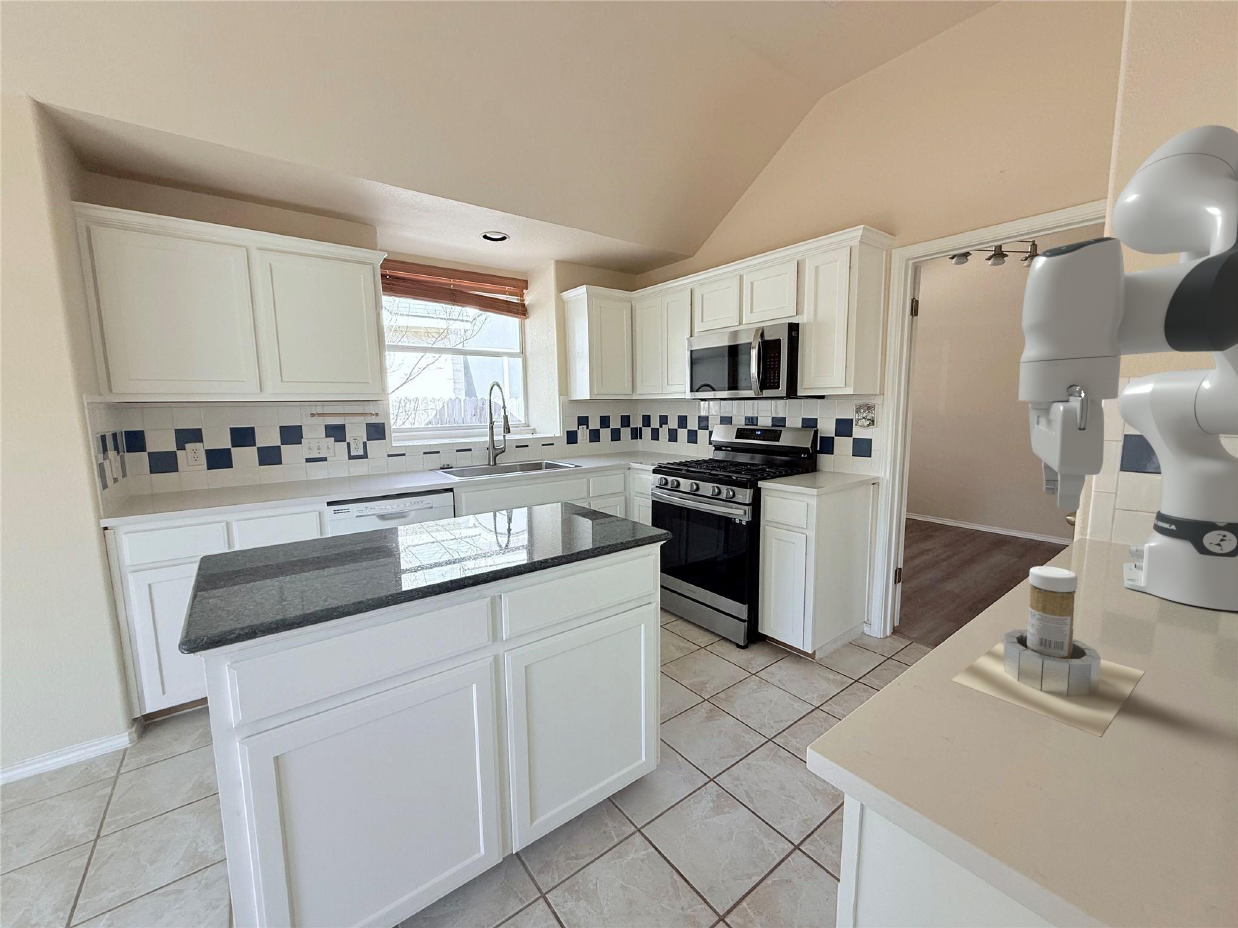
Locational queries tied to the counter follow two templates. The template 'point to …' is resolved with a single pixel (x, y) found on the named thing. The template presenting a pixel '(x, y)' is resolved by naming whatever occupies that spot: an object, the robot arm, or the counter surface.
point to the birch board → (1070, 710)
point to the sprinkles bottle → (1051, 611)
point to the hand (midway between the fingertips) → (1059, 501)
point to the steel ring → (1052, 667)
